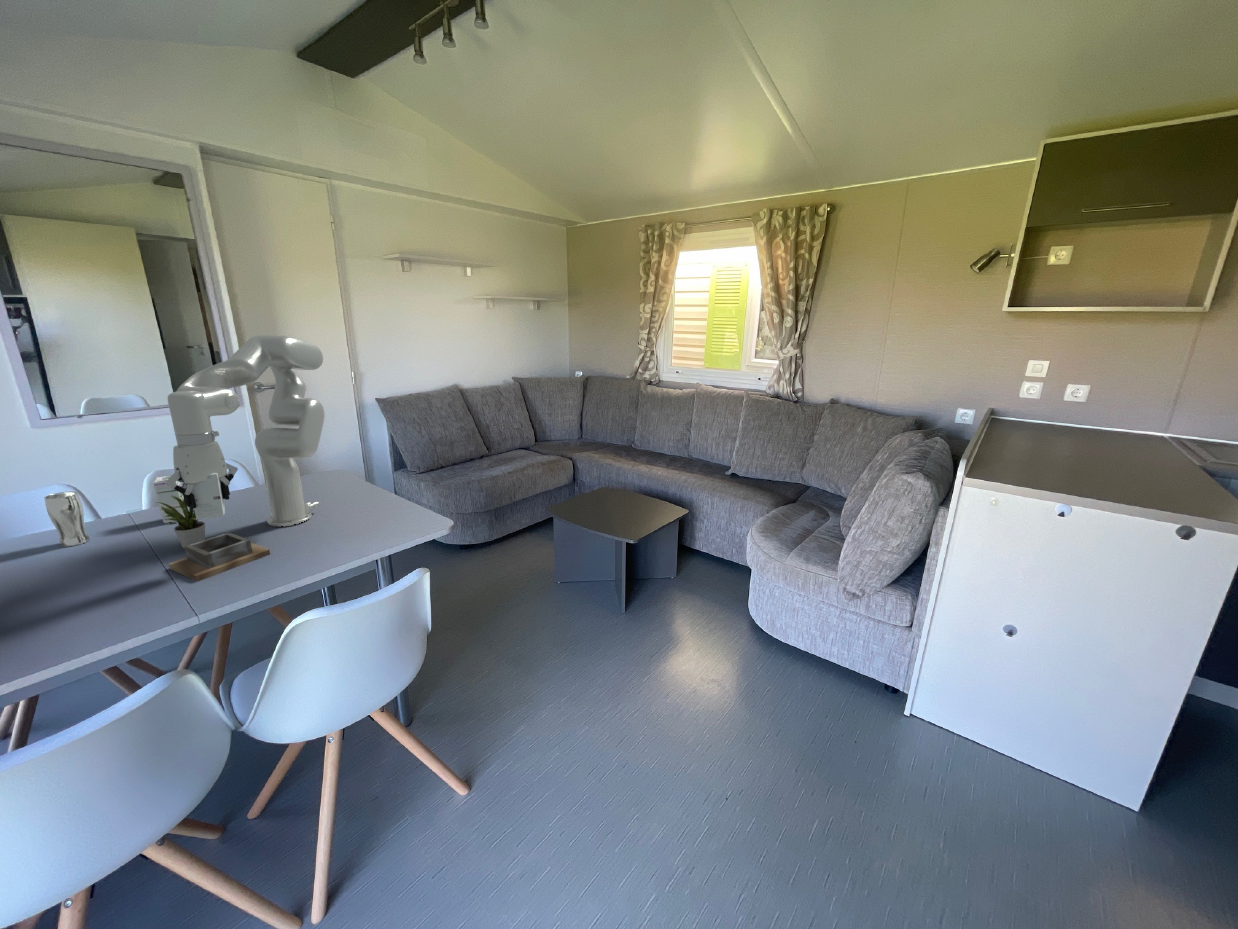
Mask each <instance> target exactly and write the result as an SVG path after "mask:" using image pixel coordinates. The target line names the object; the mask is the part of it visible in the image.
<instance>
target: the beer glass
mask: <svg viewBox="0 0 1238 929" xmlns="http://www.w3.org/2000/svg"><path fill="white" fill-rule="evenodd" d="M43 498H44V503H45V508H46V512H47V514H48V518H49V519H50V521H51V523H52V525H53V526H54V527H55V529H56V531H57V532H58V537H59V546H60V547H64V548H67V547H68V548H69V547H76V546H81V545H83V543H84V544H86V543H88V542H89V541H90V539H91V538H90V536H89V535H88V534H87V531H86V528H85V517H84V516H85V515H84V514H85V513H84V507H83V504H82V501H81V498H80V496H79V493H78V491H61V492H56V493H52V494H48V495H46V496H44V497H43Z"/></svg>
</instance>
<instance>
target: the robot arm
mask: <svg viewBox="0 0 1238 929" xmlns="http://www.w3.org/2000/svg"><path fill="white" fill-rule="evenodd" d="M323 362H324V354H323V352H322V351H321V349H320V348H319V347H318V346H317V345H315V344H314V343H311V342H307V341H305V340H302V339H299V338H295V337H292V336H287V335H269V334H267V335H265V334H264V335H263V334H259V335H254V336H252V337H250V338H249V339H248V340H246V342H245V343H243V344H242V345H241V346H240V348H238V349H237V350H236V351H235V352H234V353H233V354H231V356H230V357H229V358H228V359H226V360H224V361H221V362H218V363H216V364H213V365H211V366H209V367H206V368H204V369H202V370H200V371H198V372H195V373H194V374H192V375H191V376H190V377H188V378H187V379H186V380H185V381H183V383H182V384H181V385H180V386H178V388H177V389H176V391H173V392H170V393H169V394H168V395H167V405H168V408H169V409H168V410H169V412H170V417H171V423H172V426H173V427H172V428H173V430H174V431H173V432H174V434H175V435H174V436H175V440H176V444H177V445H174V446H173V449H172V450H173V453H172V456H173V457H172V459H173V470H174V471H173V474H172V475H170V476H171V477H170V478H169V479H168V480H167V481H166V482H165V484H166V485H167V486H169V487H171V488H172V489H174V490H176V491H178V492H180V493H182V494H183V498H184V502H185V505H186V506H187V508H189V509H190V508H193V510H195V509H194V508H196V502H195V498H194V494H192V493H191V491H192V488H193V486H194V484H196V483H200V482H204V481H206V480H207V476H208V475H210V474H214V473H217V474H218V478H219V479H220V484H221V490H222V496H223V500H227V501H228V500H230V495H231V494H230V489H229V488H230V487H229V486H230V484H231V481H232V480H233V479H234V477H235V475H236V473H237V472H238V470H239V469H238V467H237V466H234V465H232V464H230V463H229V462H228V463H227V462H226V460H225V457H224V453H223V450H222V448H221V446H220V445H219V442H218V441H216V438H217V437H219V436H220V433H219V431H217V430H216V431H214V430H213V426H212V420H211V417H215V416H216V417H217V416H218V417H219V416H227V415H232V413H235V412H236V411H237V410H238V408H239V407H240V397H239V396H238V394H237V393H236V392H235V391H234V390H233V389H234V388H238V387H242V386H246V385H249V384H253V383H255V382H256V381H258V379H260V378H261V376H262V375H263V374H264V373H265V372H266V371H267V369H268V368H270V369H271V372H272V374H273V377H274V379H275V386H274V391H273V394H272V398H271V403H270V406H269V410H268V418H269V420H270V422H271V423H272V424H274V425H277V426H283V427H268V428H263V429H261V430H260V431H259V432H258V433H257V434H256V436H255V438H254V445H255V448H256V451H257V454H258V456H259V457H260V461H261V464H262V468H263V473H264V480H265V484H266V489H267V490H266V491H267V496H268V500H269V501H268V502H269V507H270V513H271V516H269V517H268V518H267V519H266V521H267V522H266V523H267V524H268V526H271V527H276V526H277V528H280V527H281V526H283V527H291V526H295V525H294V524H296V525H299V523H300V524H302V523H301V522H303V523H305V522H307V521H309V520H310V519H312V512H311V510H312V509H315V508H318V507H320V503H319V501H313V502H310V501H308V502H305V500H304V494H303V488H302V487H303V486H302V481H301V474H300V468H299V466H298V463H297V462H296V461H295V459H307V458H308V459H309V458H311V457H312V456H314V455H315V454H316V453H317V450H318V447H319V443H320V439H321V435H322V431H323V426H324V422H325V410H324V406H323V404H322V403H321V401H319V400H318V399H316V398H312V397H305V395H306V390H307V389H306V388H307V387H306V383H305V381H304V380H303V378H302V377H301V375H300V374H299V373H298V372H297V370H299V371H302V370H303V371H314V370H315V371H316V370H317V369H319V368H320V367H322V365H323ZM232 388H233V389H232ZM289 427H292V428H289ZM293 427H298V428H293ZM176 481H178V482H180V483H181V486H178V485H177V484H176ZM308 519H309V520H308ZM306 520H307V521H306ZM304 521H305V522H304Z"/></svg>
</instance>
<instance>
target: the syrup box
mask: <svg viewBox="0 0 1238 929" xmlns="http://www.w3.org/2000/svg"><path fill="white" fill-rule="evenodd" d="M171 476H172V475H165V476H158V477H156V478H155V479H154V481H153V482H152V484H153V488H154V492H155V496H156V500H157V502H161V503H164V504H167V505H170V506H172V507H173V508H175V509H176V510H177V511H178V512H179V513H180V514H181V515H183V516H184V513H183V510H182V508H181V506H180V504H179V502H178V501H177V500H176V499H174V498H173V497H172V496H175V497H177V498H180V499H181V500H182V498H183V494H182V493H180V492H178V491H176V490H174V489H172V488H171V487H169V486H167V485H166V484H165V482H166V481H167V480H168V479H169V478H170V477H171ZM176 484H177V485H178V486H182V483H181V482H178V481H176ZM180 496H181V497H182V498H181V497H180ZM183 499H184V498H183ZM182 501H183V500H182ZM158 507H159V511H160V514H161V518H162V521H163V524H170V523H169V522H172V523H178V522H177V521H173V520H164V519H169V518H172V517H165V516H167V515H168V514H166V513H165V512H164V510H163V509H162V508H161V507H165V508H166V509H170V508H168V507H167V506H165V505H163V504H160V503H158ZM170 510H171V509H170ZM163 517H164V518H163ZM184 517H185V516H184Z"/></svg>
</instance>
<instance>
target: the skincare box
mask: <svg viewBox="0 0 1238 929" xmlns="http://www.w3.org/2000/svg"><path fill="white" fill-rule="evenodd" d="M191 493H192V494H194V498H195V502H196V508H194V509H193V510H195V515H196V520H198V521H200V520H206V519H207V520H208V519H214V518H221V517H224V516H225V513H226V509H225V508H226V507H225V502H224V499H223V496H222V490H221V484H220V479H219V478H218V474H217V473H214V474H210V475H208V476H207V480H206V481H204V482H200V483H196V484H194V486H193V488H192V491H191Z"/></svg>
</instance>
